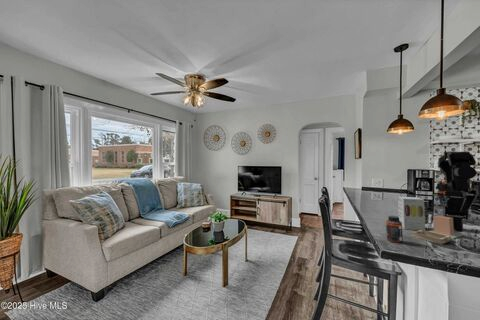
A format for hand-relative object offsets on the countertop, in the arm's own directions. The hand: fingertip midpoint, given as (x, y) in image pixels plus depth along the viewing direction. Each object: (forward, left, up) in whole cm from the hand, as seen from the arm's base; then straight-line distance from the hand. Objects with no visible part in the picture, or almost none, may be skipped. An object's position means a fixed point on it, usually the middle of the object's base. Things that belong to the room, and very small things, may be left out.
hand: (462, 210), depth 96 cm
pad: (+1, -7, -13) cm, 15 cm away
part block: (+1, -7, -12) cm, 14 cm away
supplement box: (+2, -20, -13) cm, 24 cm away
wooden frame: (+14, -7, -13) cm, 20 cm away
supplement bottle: (+32, -13, -13) cm, 37 cm away
